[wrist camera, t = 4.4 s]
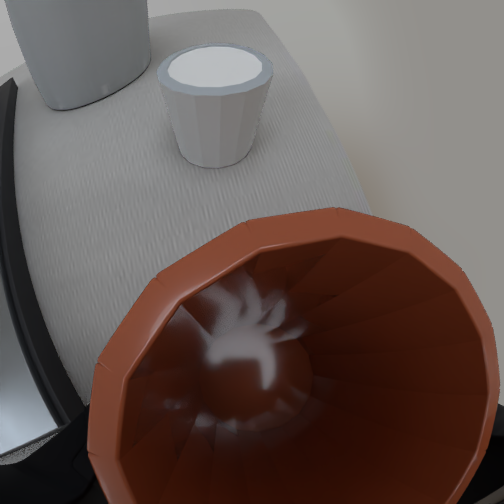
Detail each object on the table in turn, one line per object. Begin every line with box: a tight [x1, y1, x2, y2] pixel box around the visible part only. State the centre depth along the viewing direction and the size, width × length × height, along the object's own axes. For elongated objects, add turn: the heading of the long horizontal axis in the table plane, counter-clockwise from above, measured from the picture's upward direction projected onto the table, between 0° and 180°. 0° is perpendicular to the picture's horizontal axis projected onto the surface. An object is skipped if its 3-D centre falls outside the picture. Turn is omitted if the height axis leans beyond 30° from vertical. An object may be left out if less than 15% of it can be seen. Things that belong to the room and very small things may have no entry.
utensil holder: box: [5, 0, 151, 110], centre depth 14 cm, size 15×15×18 cm
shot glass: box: [157, 43, 273, 168], centre depth 16 cm, size 7×7×7 cm
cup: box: [87, 207, 500, 504], centre depth 8 cm, size 7×7×12 cm
